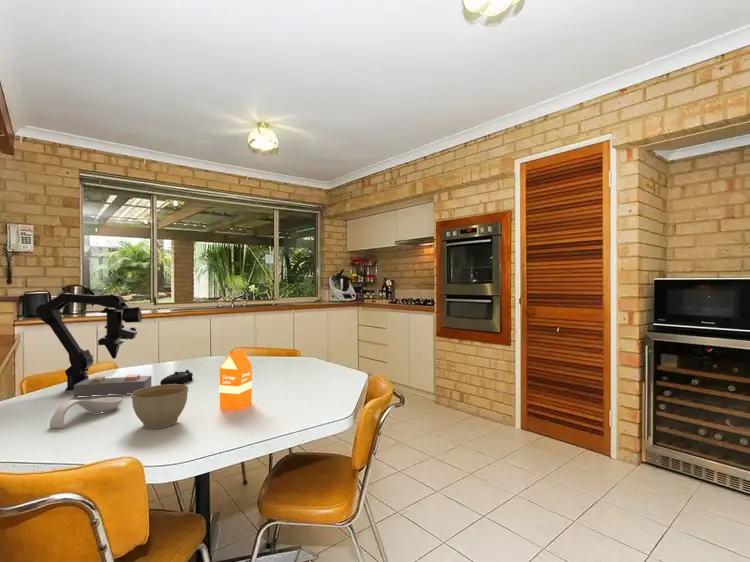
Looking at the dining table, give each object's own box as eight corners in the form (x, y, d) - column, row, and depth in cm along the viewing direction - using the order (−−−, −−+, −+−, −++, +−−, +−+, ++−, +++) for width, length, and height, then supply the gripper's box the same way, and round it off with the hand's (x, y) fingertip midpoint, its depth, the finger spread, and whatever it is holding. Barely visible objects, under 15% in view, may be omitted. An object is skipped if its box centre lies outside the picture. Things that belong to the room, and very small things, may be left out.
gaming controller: (175, 369, 189) (195, 365, 188) (178, 381, 189) (198, 378, 188) (157, 376, 175) (178, 372, 174) (159, 389, 175) (181, 386, 174)
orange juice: (252, 403, 149) (252, 350, 149) (238, 410, 141) (238, 354, 141) (234, 401, 151) (234, 349, 152) (219, 409, 143) (219, 353, 143)
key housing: (73, 397, 157) (73, 385, 157) (84, 391, 167) (84, 379, 167) (144, 393, 163) (144, 381, 163) (151, 387, 173) (151, 375, 173)
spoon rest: (101, 405, 148) (101, 386, 148) (130, 406, 147) (130, 387, 147) (39, 428, 125) (39, 405, 125) (72, 430, 123) (72, 407, 123)
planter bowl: (174, 412, 139) (174, 381, 139) (197, 422, 129) (197, 389, 129) (122, 425, 127) (123, 391, 127) (143, 437, 117) (143, 400, 117)
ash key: (87, 389, 161) (87, 379, 161) (92, 386, 165) (92, 376, 165) (100, 388, 162) (100, 378, 162) (104, 385, 166) (104, 376, 166)
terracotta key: (124, 387, 164) (124, 377, 164) (128, 384, 168) (128, 375, 168) (136, 386, 165) (136, 376, 165) (139, 383, 169) (139, 374, 169)
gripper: (127, 324, 169) (127, 361, 169) (141, 320, 187) (141, 353, 187) (97, 325, 166) (97, 362, 166) (114, 321, 184) (114, 355, 184)
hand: (114, 358), depth 176 cm, fingers closed
